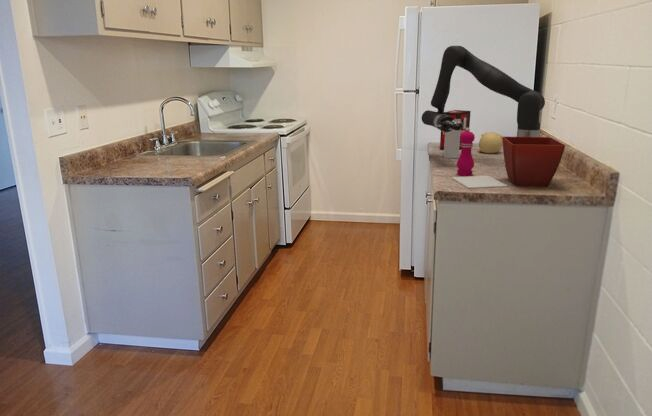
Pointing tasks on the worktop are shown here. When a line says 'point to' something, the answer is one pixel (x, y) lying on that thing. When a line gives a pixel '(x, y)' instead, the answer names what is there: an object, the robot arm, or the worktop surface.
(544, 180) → the plant pot
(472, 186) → the mat
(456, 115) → the cleaning product box
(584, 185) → the worktop surface
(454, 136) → the milk carton
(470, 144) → the pepper mill
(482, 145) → the tan ball
